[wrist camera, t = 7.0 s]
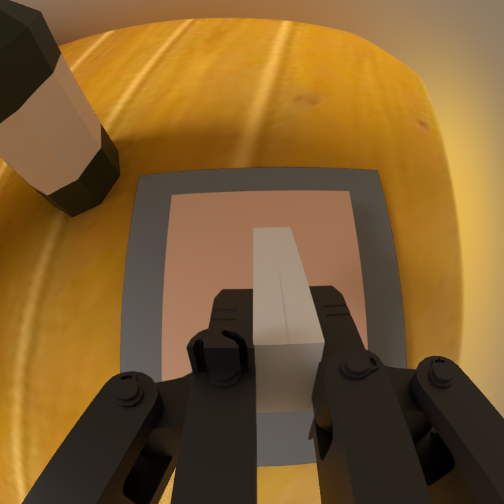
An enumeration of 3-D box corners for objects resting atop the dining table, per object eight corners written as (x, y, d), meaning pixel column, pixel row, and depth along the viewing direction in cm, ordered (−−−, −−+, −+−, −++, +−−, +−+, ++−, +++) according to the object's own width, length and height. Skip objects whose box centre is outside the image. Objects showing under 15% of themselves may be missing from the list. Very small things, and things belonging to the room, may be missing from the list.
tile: (368, 375, 15) (348, 191, 18) (161, 381, 15) (171, 194, 19) (355, 373, 17) (340, 207, 21) (173, 378, 17) (180, 210, 21)
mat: (399, 442, 15) (404, 444, 15) (130, 450, 16) (125, 453, 15) (374, 175, 23) (377, 170, 22) (142, 180, 23) (139, 175, 22)
